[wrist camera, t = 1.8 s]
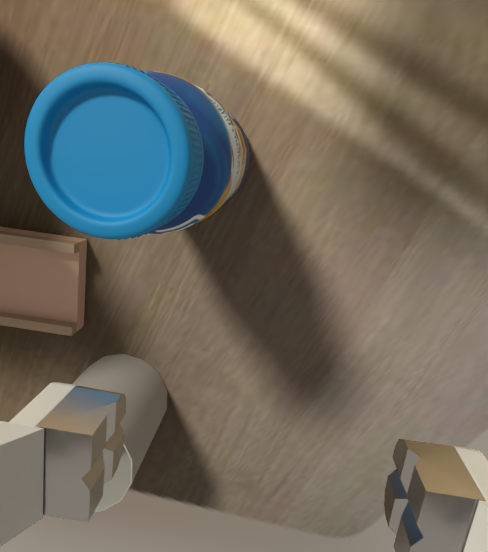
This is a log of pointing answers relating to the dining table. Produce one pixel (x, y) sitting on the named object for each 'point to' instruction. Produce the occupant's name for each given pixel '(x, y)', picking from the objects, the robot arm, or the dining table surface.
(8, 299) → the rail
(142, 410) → the cup
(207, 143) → the beverage bottle
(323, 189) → the dining table surface
